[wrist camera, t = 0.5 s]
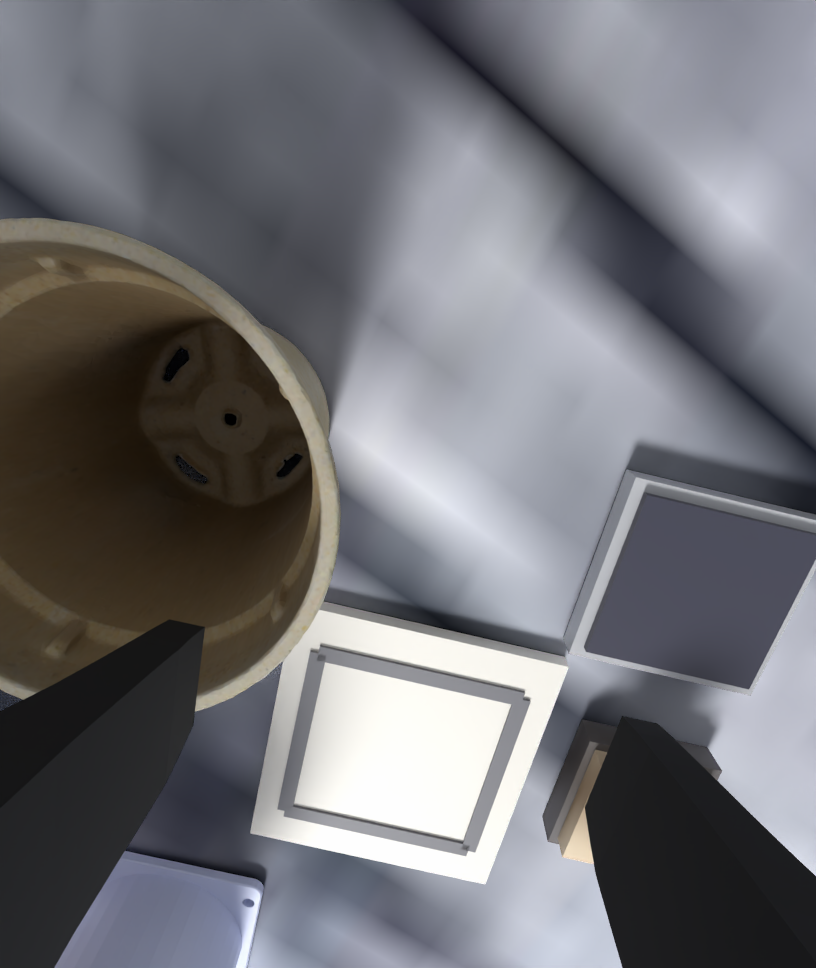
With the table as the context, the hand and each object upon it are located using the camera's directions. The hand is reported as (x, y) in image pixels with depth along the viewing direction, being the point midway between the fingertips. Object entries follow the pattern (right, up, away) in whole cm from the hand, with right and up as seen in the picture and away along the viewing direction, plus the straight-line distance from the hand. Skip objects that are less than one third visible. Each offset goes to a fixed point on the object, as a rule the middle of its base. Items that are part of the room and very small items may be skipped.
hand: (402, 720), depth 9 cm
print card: (0, -6, +12) cm, 14 cm away
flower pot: (-5, +6, +9) cm, 12 cm away
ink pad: (+10, +1, +10) cm, 14 cm away
